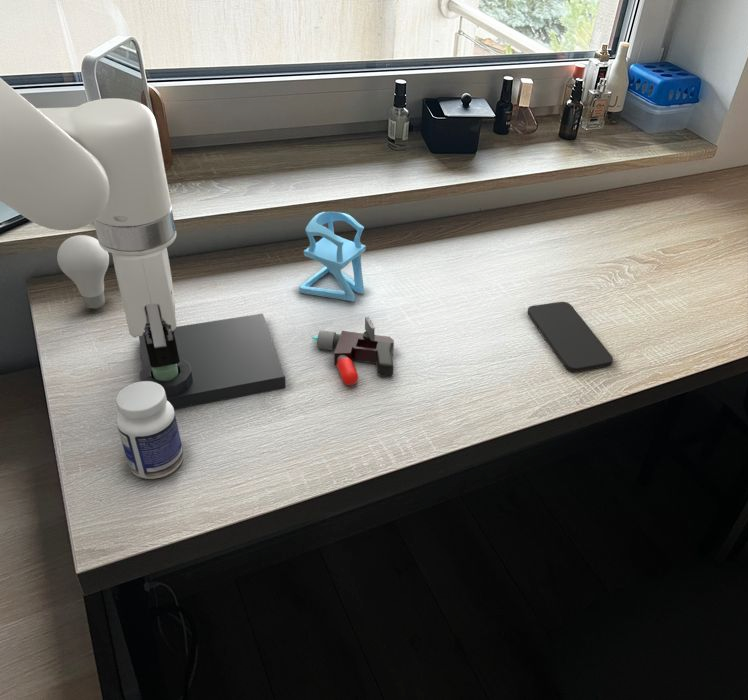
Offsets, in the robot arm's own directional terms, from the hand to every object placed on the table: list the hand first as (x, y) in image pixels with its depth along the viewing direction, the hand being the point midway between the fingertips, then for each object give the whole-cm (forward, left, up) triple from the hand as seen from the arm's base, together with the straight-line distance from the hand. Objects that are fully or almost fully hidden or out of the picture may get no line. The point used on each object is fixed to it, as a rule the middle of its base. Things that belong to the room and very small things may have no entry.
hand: (165, 361), depth 86 cm
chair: (+25, +17, -5) cm, 31 cm away
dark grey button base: (+5, +4, -5) cm, 8 cm away
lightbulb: (-8, +21, -5) cm, 23 cm away
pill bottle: (-3, -11, -5) cm, 13 cm away
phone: (+54, -4, -5) cm, 55 cm away
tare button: (0, 0, -2) cm, 2 cm away
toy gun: (+22, -1, -5) cm, 23 cm away
